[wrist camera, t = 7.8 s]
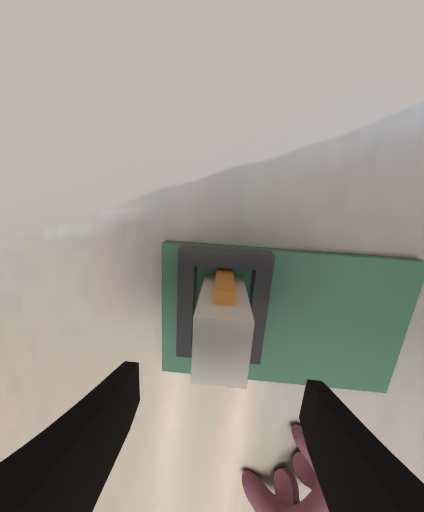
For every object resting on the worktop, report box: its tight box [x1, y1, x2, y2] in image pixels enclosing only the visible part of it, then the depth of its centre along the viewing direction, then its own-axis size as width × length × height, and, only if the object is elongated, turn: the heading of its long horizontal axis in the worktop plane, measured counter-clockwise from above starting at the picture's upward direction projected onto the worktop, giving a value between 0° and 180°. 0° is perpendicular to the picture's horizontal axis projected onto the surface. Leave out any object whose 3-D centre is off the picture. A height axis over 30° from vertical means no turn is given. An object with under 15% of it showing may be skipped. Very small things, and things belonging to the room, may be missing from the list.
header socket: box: [176, 244, 276, 365], centre depth 16 cm, size 7×9×2 cm
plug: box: [191, 268, 255, 389], centre depth 14 cm, size 3×5×6 cm, turn 177°
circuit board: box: [162, 241, 424, 393], centre depth 17 cm, size 20×12×1 cm, turn 87°
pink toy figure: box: [242, 424, 329, 512], centre depth 20 cm, size 10×5×7 cm, turn 146°
